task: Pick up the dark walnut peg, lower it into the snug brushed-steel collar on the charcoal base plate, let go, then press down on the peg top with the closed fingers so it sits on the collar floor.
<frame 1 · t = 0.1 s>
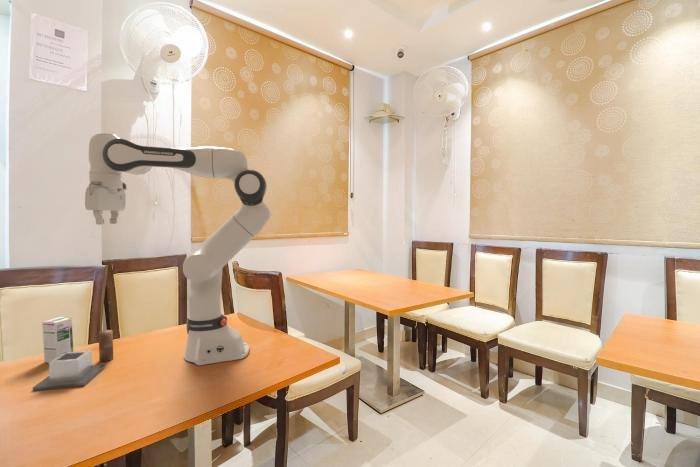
hand: (107, 224, 116), 48 cm above the table, tool pointing down, fingers open, 8 cm apart
square collar: (71, 378, 106), on the table
syrup box: (59, 360, 119), on the table
walnut peg: (106, 359, 120), on the table
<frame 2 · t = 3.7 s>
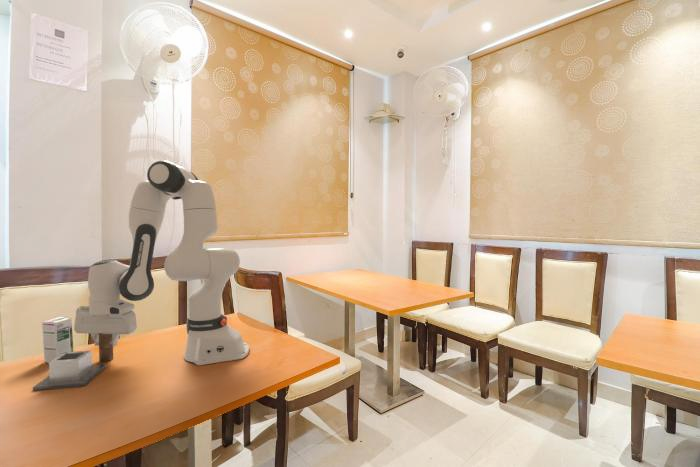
hand: (106, 345, 119), 5 cm above the table, tool pointing down, fingers closed on walnut peg, 4 cm apart
walnut peg: (106, 359, 120), on the table, touching gripper
everything else where it was.
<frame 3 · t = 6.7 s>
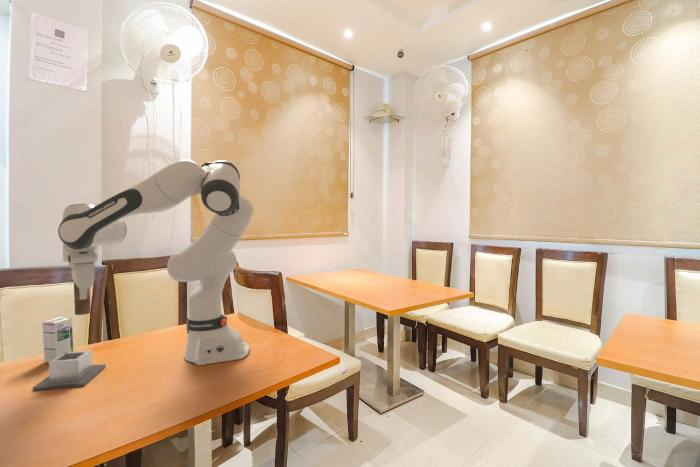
hand: (82, 297, 110), 24 cm above the table, tool pointing down, fingers closed on walnut peg, 4 cm apart
walnut peg: (82, 313, 110), point 19 cm above the table, touching gripper
everything else where it was.
when the fingers open (9 cm above the table, at t = 9.8 s): walnut peg drops 2 cm, resting on square collar.
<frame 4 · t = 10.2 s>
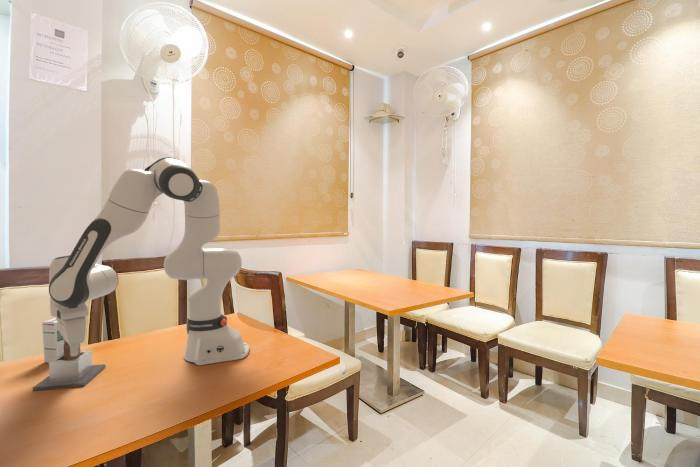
hand: (71, 351, 106), 9 cm above the table, tool pointing down, fingers open, 8 cm apart
walnut peg: (72, 375, 106), point 1 cm above the table, touching square collar
everything else where it was.
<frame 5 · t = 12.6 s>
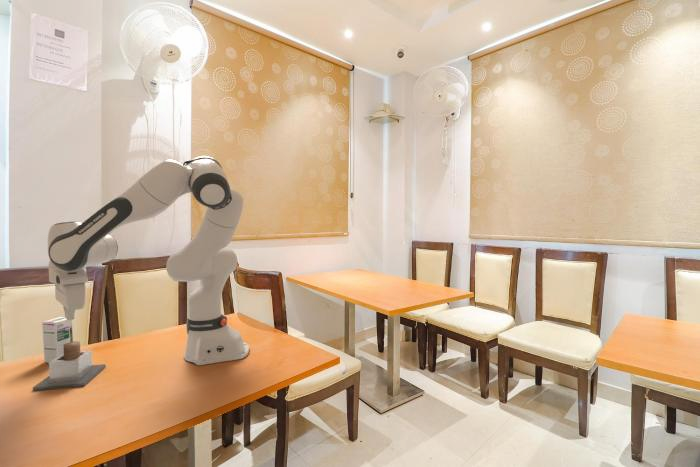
hand: (69, 318, 105), 19 cm above the table, tool pointing down, fingers closed
nothing on the table moved.
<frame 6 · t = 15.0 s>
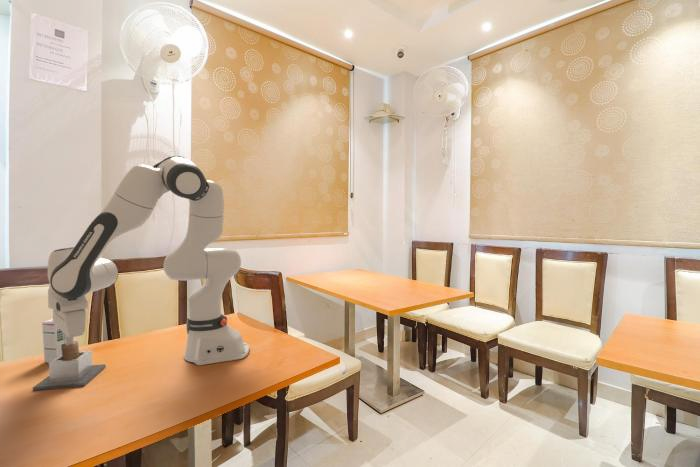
hand: (68, 344, 105), 11 cm above the table, tool pointing down, fingers closed, pressing on walnut peg
walnut peg: (72, 374, 106), point 1 cm above the table, touching gripper, square collar
everything else where it was.
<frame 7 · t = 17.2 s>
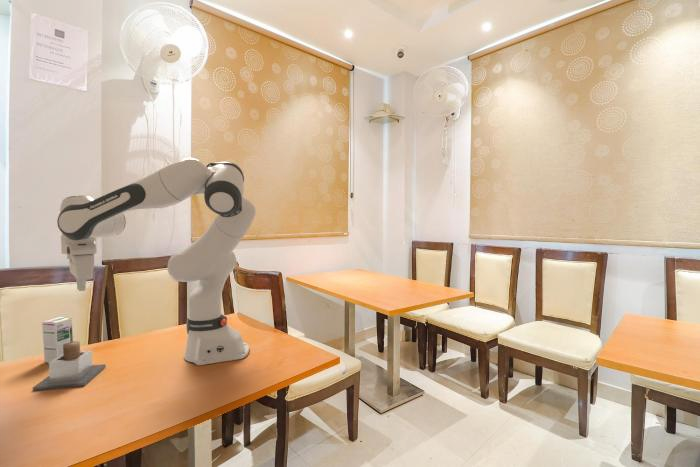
hand: (81, 290, 109), 27 cm above the table, tool pointing down, fingers closed
walnut peg: (72, 375, 106), point 1 cm above the table, touching square collar
everything else where it was.
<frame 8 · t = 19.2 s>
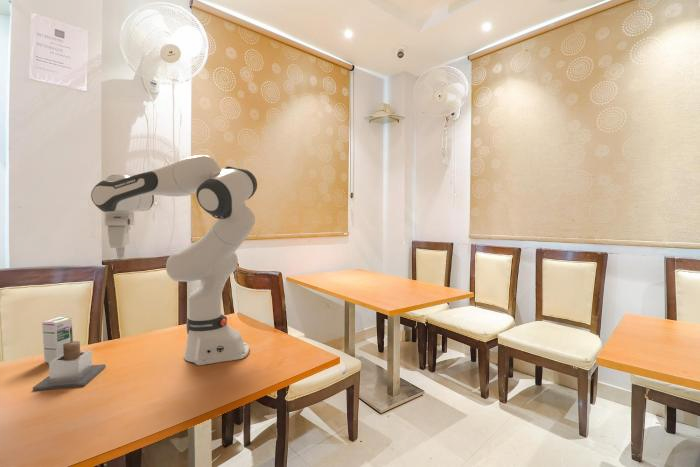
hand: (120, 258, 124), 35 cm above the table, tool pointing down, fingers closed
nothing on the table moved.
at the end: walnut peg 0.5 cm off-centre on the square collar, point 1.0 cm above the square collar's base; walnut peg tilted 1°; the gripper is holding nothing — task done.
